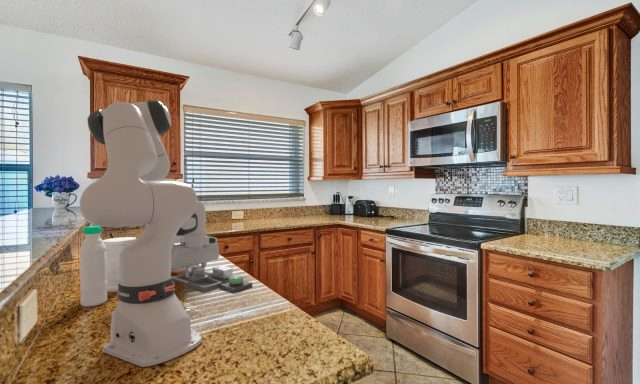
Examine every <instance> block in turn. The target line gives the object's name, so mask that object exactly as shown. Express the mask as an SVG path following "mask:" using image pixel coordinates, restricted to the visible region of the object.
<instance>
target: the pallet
mask: <svg viewBox="0 0 640 384" xmlns="http://www.w3.org/2000/svg"><path fill="white" fill-rule="evenodd" d="M188 281H189V280H188ZM227 282H229V280H225V281H221V280H218V279H214V278H213V275H207V276H205V277H204V278H200V279H196V280H192V279H191V280H190V281H189V282H187V284H186V285H187V286H186V287H189V288H192V289H195V290H197V291H201V292H204V293H205V292H209V291H212V290H215V289H220V284H223V283H227Z"/></svg>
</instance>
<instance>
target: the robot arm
mask: <svg viewBox="0 0 640 384" xmlns="http://www.w3.org/2000/svg"><path fill="white" fill-rule="evenodd" d="M171 124H172V118H171V114H170V111H169V110H168V108H167V106H165V105H164V103H163V102H161V101H159V100H155V99H154V100H151V99H150V100H149V99H148V100H147V101H138V102H131V103H130V102H126V101H119V102H118V101H117V102H113V103H111V104H109V105H108V106H107V107H106V108H104V109H97V110H94V111H92V112H90V114H89V115H88V117H87V127H88V131H89V132H90V134H91V136H92V137H93V138H94V140H95V141H96V142H97V143H99V144H101V145H103V146H105V150H106V157H107V167H106V170H105V172H104V174H103V175H102V176H101V177H99V179H97V180H96V181H94V182H92V183H90V184H89V185H88V186H87V187H86V188H85V189H84V191H83V192H82V194H81V195H80V199H79V210H80V213H81V215H82V216H83V218H84V219H85V220H86V222H88V223H89V224H90V225H91V226H100V227H107V228H123V227H133V226H134V227H135V226H143V225H144V229H143V231H142V233H141V234H140V236H138V237H136V240H134V241H132V242H130V243H129V244H127V245H126V246H125V247H124V248H123V250H122V251H121V254H120V283H119V284H118V291H117V299H118V300H119V301H118V303H117V306H116V307H115V308H114V309H113V310H112V312H111V321H110V336H109V337H110V340H109V342H108V343H106V344H105V345H104V346H103V350H102V351H103V353H104V354H108V355H110V356H111V357H115V358H117V359H121V360H122V361H125V362H128V363H129V364H133V365H136V366H138V367H140V368H141V367H142V368H146V367H151V366H155V365H158V364H162V363H165V362H167V361H171V360H173V359H176V358H178V357H179V356H180V357H181V356H182V355H184V354H186V353H188V352H190V351H192V350H194V349H195V348H196V347H198V346H199V345H200V344H201V343H202V342H203V338H202V336H201V335H200V334H199V333H198V332H197V331H196V329H194V328H193V327H192V324H191V318H192V310H191V309H190V308H186V309H185V307H184V305H183V302H182V301H180V300H179V298H178V297H177V295H176V288H175V287H176V285H175V281H174V279H173V278H172V277H173V276H172V272H171V269H177V268H182V267H183V270H184V271H185V272H186V276H185V278H186V277H191V276H192V275H191V274H192V272H189V271H188V269H189V266H191V265H196V264H199V265H200V266H202V267H204V268H205V269H206V267H207V263H210V262H213V261H217V260H219V258H220V248H219V244H218V238H217V237H214V236H210V235H207V230H206V223H207V214H206V207H205V206H206V205H205V204H204V203H203V202H202V201H199V200H198V196H197V193H196V190H195V189H194V188H193V186H191V185H190V184H188V183H186V182H185V183H184V182H179V181H176V180H175V181H174V180H164V179H165V178H167V176H168V175H169V173H170V171H171V162H170V158H169V155H168V153H167V150H166V148H165V146H164V144H163V141H162V140H161V138H160V137H162V138H163V137H164V136H165V134H167V133H168V132H169V131H170V129H171V128H172V127H171ZM159 135H160V136H159ZM175 236H182V237H183V243H179V244H173V241H174V239H175Z"/></svg>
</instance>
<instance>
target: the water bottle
mask: <svg viewBox="0 0 640 384" xmlns="http://www.w3.org/2000/svg"><path fill="white" fill-rule="evenodd" d="M102 230H103V229H102V226H94V225H91V226H89V225H88V226H85V227H84V228H83V229H82V232H83V236H84V237H85V238H84V240H83V241H82V244H80V247H79V250H78V252H79V278H80V285H79V291H80V298H79V299H80V301H79V302H80V306H82V307H85V308H89V307H95V306H99V305H103V304H105V302H107V301H108V292H107V290H106V289H107V281H106V272H107V265H106V252H105V251H106V246H105V244H104V243H103V240H104V239H103V238H101V234H102V232H103V231H102Z"/></svg>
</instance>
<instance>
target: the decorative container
mask: <svg viewBox="0 0 640 384" xmlns="http://www.w3.org/2000/svg"><path fill="white" fill-rule="evenodd" d="M136 239H137V237H135V236H123V237H121V236H120V237H113V238H111V237H110V238H106V239H102V240H103V243H104V244H105V246H106V251H105V252H106V265H107V272H106V281H107V289H106V290H107V293H113V292H115V293H116V292H117V293H118V284H119V283H120V254H121V251H122V250H123V248H124V247H125V246H126V245H127V244H129V243H130V242H132V241H134V240H136Z"/></svg>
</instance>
